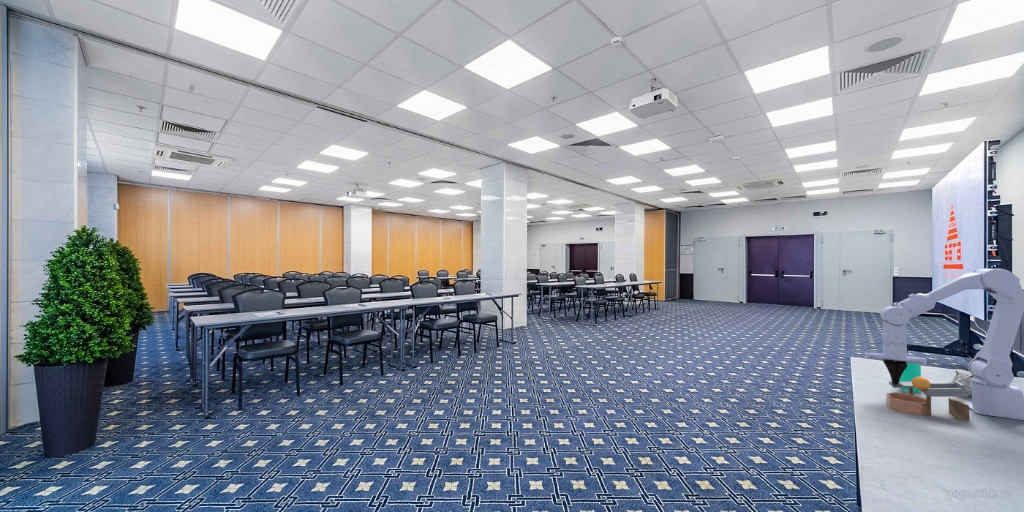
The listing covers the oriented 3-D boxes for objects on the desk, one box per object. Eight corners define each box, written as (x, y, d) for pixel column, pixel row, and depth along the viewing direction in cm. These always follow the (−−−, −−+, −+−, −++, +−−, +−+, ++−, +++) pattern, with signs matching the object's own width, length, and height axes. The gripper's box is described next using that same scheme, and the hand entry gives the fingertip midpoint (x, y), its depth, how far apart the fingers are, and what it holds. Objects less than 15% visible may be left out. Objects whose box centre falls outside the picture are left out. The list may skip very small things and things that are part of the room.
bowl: (923, 407, 120) (923, 396, 120) (934, 416, 113) (933, 405, 113) (884, 401, 125) (884, 390, 125) (892, 410, 118) (891, 399, 118)
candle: (926, 392, 133) (925, 358, 133) (906, 391, 134) (905, 358, 134) (912, 387, 139) (911, 354, 139) (893, 386, 140) (892, 354, 140)
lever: (948, 382, 122) (945, 373, 122) (968, 396, 110) (965, 386, 110) (889, 383, 130) (886, 374, 130) (902, 396, 117) (899, 386, 118)
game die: (972, 405, 131) (990, 382, 130) (984, 404, 124) (1002, 380, 124) (938, 387, 136) (955, 365, 136) (947, 385, 129) (965, 362, 129)
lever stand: (947, 403, 123) (947, 385, 123) (972, 422, 108) (971, 401, 109) (909, 398, 128) (908, 380, 128) (927, 416, 113) (927, 396, 114)
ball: (914, 372, 120) (907, 383, 121) (918, 376, 116) (911, 387, 117) (930, 379, 118) (923, 390, 119) (935, 383, 114) (928, 394, 115)
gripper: (868, 342, 128) (868, 382, 128) (930, 347, 120) (930, 390, 120) (863, 338, 134) (864, 377, 133) (922, 343, 126) (923, 384, 125)
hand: (895, 383), depth 127 cm, fingers closed, pressing on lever
